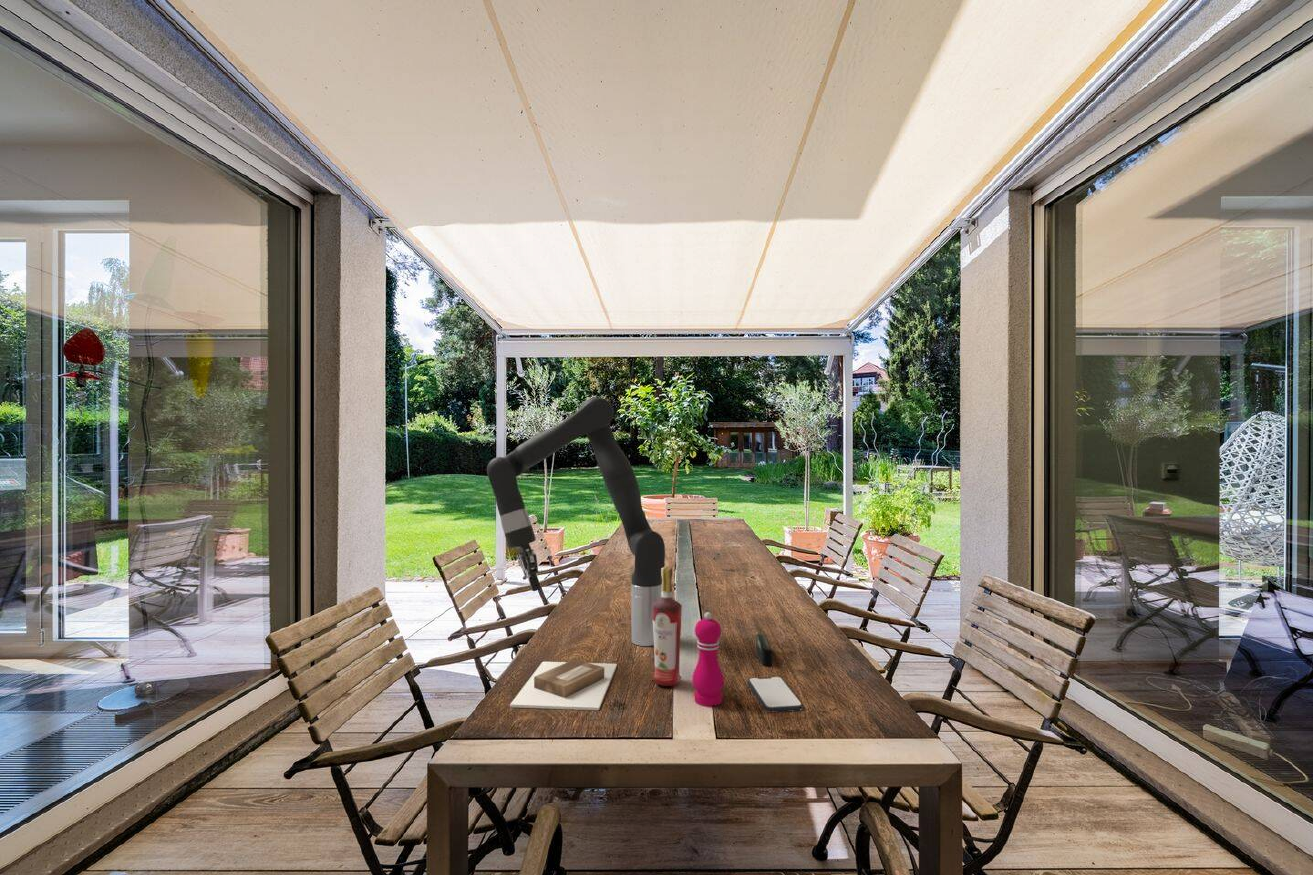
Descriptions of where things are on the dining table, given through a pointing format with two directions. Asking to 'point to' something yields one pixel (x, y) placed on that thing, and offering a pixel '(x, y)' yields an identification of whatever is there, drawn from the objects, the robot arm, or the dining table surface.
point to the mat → (578, 701)
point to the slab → (569, 678)
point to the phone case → (774, 694)
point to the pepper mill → (708, 663)
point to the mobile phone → (763, 650)
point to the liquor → (666, 633)
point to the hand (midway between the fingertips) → (536, 590)
